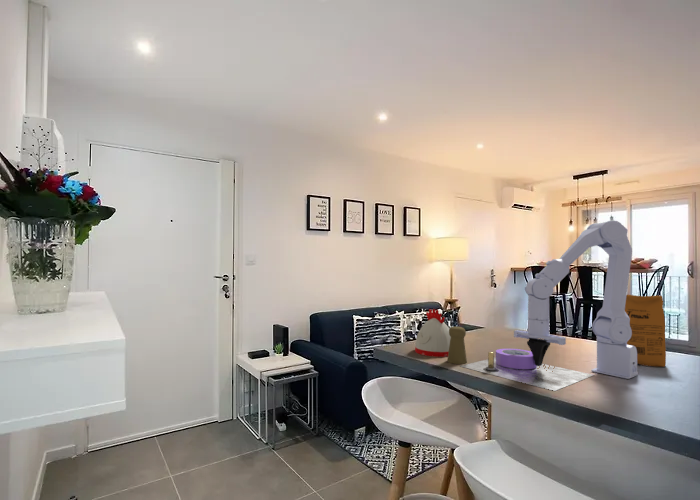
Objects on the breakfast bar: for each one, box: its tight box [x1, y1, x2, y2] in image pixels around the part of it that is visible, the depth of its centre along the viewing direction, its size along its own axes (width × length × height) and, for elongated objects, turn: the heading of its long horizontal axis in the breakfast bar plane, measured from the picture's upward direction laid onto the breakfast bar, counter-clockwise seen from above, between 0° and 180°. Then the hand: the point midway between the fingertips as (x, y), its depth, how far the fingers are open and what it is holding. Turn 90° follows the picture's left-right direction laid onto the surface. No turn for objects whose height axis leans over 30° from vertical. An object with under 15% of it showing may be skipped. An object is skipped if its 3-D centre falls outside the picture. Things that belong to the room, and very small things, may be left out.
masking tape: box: [495, 348, 537, 369], centre depth 121 cm, size 12×12×4 cm
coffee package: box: [625, 294, 667, 368], centre depth 127 cm, size 10×12×22 cm
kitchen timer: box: [414, 308, 451, 358], centre depth 138 cm, size 14×14×15 cm
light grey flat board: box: [459, 356, 594, 392], centre depth 115 cm, size 28×24×1 cm
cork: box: [446, 326, 468, 365], centre depth 125 cm, size 6×6×11 cm
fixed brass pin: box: [486, 351, 496, 371], centre depth 115 cm, size 3×3×5 cm
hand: (538, 365), depth 116 cm, fingers closed
